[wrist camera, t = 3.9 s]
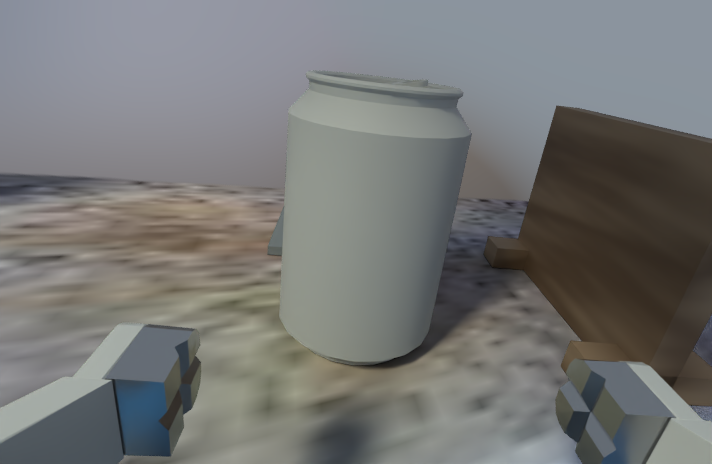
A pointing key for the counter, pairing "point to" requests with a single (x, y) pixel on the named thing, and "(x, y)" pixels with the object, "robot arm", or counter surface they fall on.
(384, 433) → the counter surface
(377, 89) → the can
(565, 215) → the walnut screen
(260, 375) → the counter surface
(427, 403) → the counter surface
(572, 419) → the robot arm
